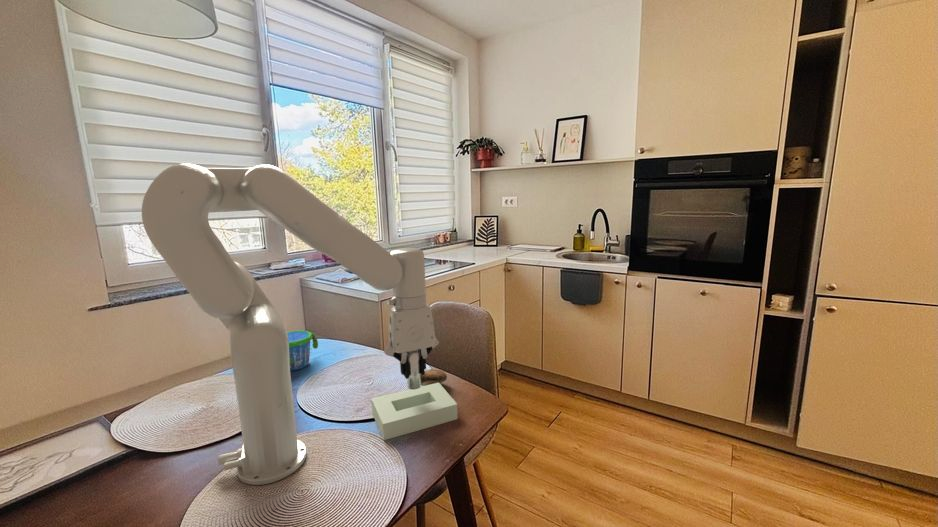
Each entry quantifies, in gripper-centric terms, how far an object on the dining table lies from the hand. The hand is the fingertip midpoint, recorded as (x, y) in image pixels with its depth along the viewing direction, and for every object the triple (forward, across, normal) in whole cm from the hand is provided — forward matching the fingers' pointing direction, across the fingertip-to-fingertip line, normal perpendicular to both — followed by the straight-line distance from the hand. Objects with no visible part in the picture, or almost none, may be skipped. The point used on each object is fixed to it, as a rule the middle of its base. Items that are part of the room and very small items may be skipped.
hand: (413, 373), depth 92 cm
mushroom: (+12, +9, +11) cm, 18 cm away
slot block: (+11, 0, 0) cm, 11 cm away
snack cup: (+11, -25, +44) cm, 52 cm away
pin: (+3, 0, 0) cm, 3 cm away
